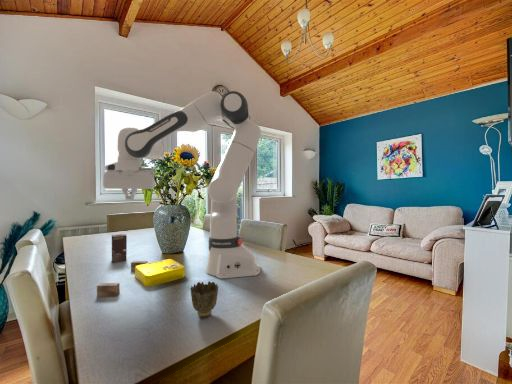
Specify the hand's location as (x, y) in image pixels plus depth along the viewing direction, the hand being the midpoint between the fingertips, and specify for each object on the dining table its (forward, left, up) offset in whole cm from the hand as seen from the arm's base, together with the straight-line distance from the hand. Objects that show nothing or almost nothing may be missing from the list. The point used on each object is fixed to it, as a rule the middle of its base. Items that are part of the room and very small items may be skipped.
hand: (129, 199), depth 104 cm
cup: (-38, +40, -29) cm, 62 cm away
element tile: (-16, +10, -30) cm, 35 cm away
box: (+10, -10, -30) cm, 33 cm away
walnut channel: (-6, +15, -29) cm, 33 cm away
